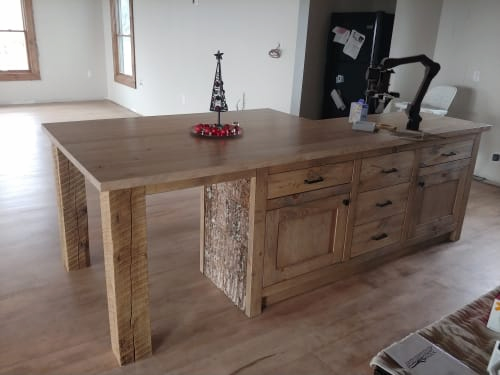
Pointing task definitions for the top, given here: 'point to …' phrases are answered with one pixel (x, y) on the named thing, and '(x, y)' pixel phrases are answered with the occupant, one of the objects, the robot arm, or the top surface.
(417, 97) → the robot arm
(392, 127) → the socket block
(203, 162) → the top surface
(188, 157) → the top surface
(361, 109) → the ink cartridge box
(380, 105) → the plug
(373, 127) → the bin
